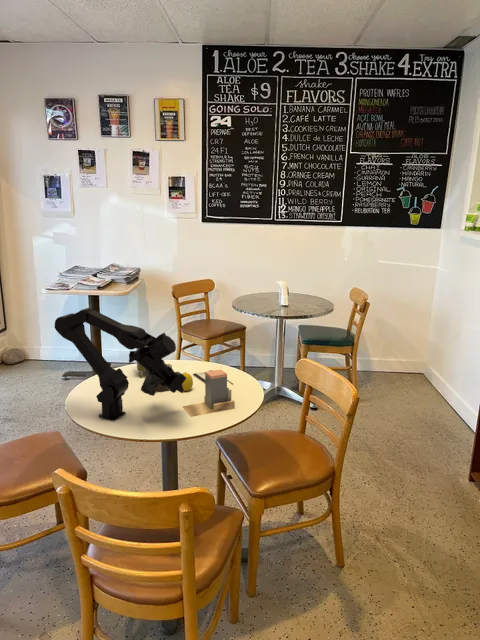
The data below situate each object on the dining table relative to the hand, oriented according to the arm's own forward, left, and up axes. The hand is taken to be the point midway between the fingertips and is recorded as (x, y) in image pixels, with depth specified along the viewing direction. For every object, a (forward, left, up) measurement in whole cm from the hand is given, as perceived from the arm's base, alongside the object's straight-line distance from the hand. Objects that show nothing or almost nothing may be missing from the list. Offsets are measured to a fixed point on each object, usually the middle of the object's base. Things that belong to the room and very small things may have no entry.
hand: (182, 391), depth 157 cm
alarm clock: (+26, +36, -9) cm, 45 cm away
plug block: (+10, -7, -7) cm, 14 cm away
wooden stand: (+7, -6, -8) cm, 12 cm away
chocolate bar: (+33, +8, -9) cm, 36 cm away
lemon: (+17, +10, -9) cm, 22 cm away
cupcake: (+16, +20, -9) cm, 27 cm away
